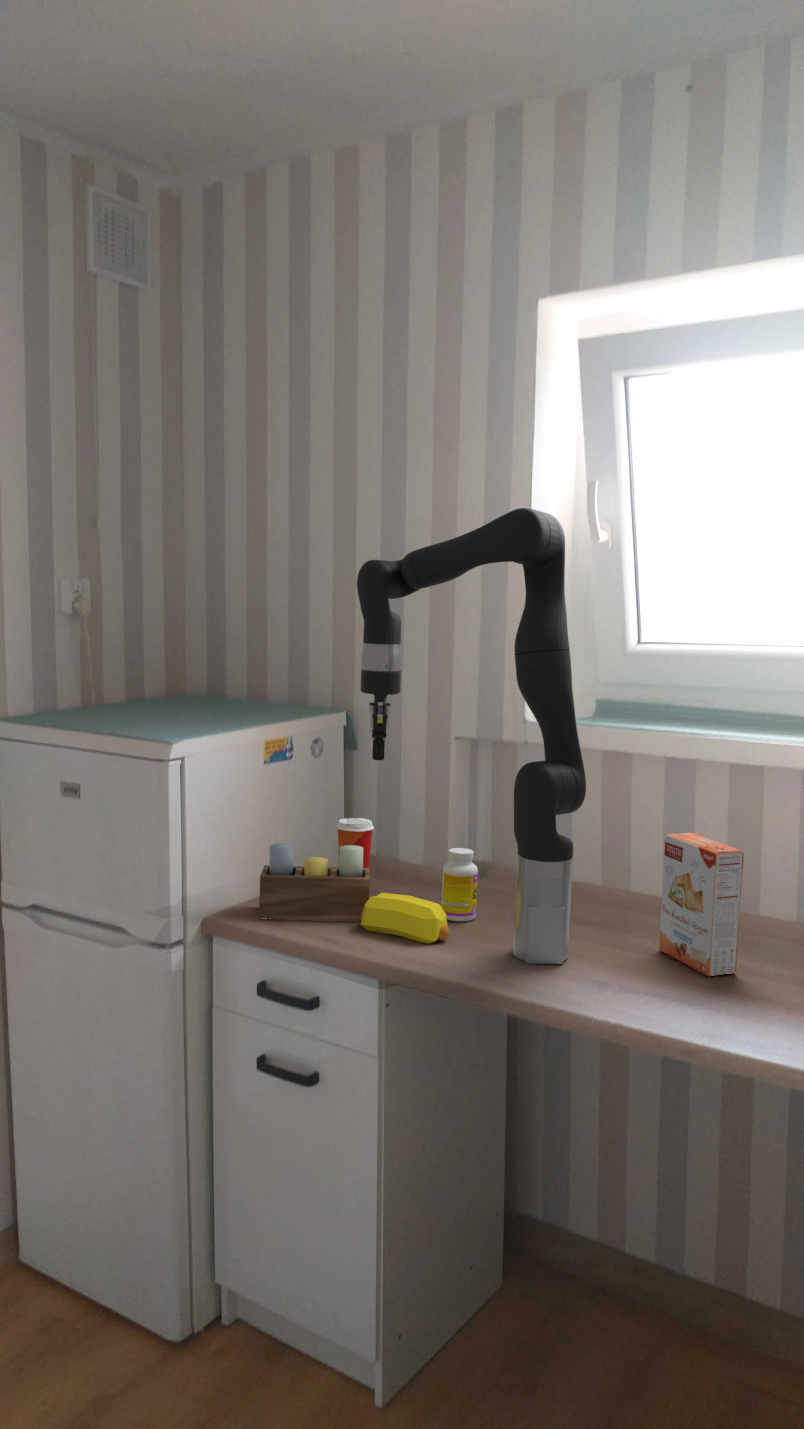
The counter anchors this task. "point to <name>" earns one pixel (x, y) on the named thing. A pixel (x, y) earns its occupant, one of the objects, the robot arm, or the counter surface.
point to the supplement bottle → (459, 885)
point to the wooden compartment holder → (313, 896)
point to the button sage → (351, 861)
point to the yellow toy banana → (405, 917)
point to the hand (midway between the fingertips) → (378, 759)
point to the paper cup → (356, 835)
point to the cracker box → (701, 903)
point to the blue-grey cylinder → (281, 859)
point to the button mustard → (316, 866)
